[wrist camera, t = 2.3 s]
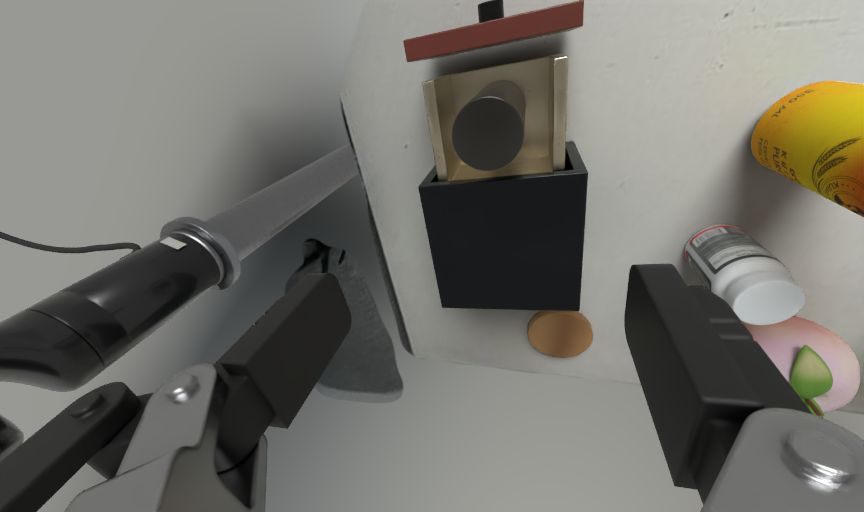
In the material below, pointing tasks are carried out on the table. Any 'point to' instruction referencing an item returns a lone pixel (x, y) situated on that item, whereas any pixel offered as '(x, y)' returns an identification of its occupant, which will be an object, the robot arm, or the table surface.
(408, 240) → the table surface
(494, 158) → the dark grey cylinder
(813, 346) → the decorative fruit
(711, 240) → the pill bottle
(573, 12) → the cabinet drawer
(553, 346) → the disc
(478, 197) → the drawer cabinet
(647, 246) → the table surface
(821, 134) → the beer can
